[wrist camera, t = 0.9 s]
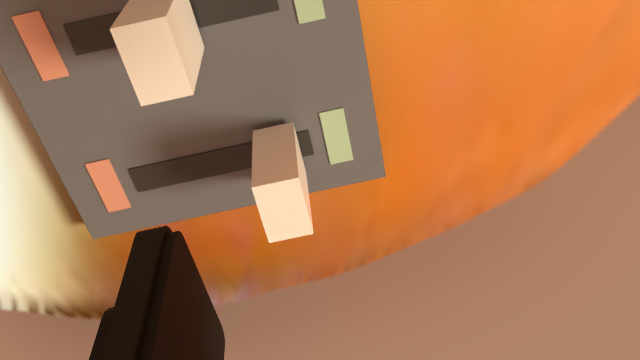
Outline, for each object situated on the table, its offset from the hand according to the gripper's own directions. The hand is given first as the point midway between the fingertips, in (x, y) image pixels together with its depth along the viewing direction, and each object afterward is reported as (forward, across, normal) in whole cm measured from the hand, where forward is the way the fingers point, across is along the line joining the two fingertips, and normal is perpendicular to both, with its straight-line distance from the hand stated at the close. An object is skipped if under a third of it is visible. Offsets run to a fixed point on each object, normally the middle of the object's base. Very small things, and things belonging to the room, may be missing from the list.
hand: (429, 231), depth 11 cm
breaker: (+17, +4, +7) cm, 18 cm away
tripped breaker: (+17, +7, -1) cm, 18 cm away
